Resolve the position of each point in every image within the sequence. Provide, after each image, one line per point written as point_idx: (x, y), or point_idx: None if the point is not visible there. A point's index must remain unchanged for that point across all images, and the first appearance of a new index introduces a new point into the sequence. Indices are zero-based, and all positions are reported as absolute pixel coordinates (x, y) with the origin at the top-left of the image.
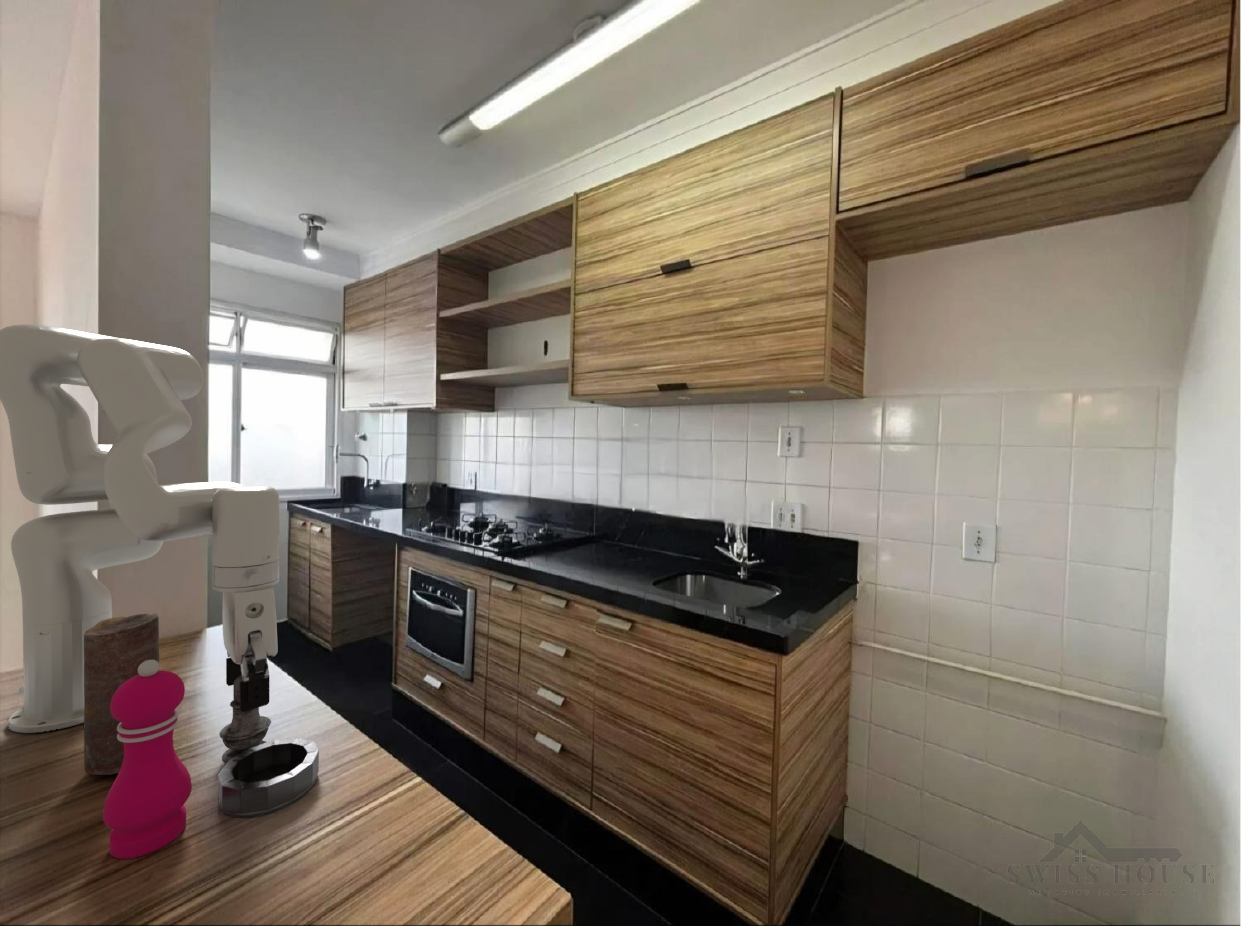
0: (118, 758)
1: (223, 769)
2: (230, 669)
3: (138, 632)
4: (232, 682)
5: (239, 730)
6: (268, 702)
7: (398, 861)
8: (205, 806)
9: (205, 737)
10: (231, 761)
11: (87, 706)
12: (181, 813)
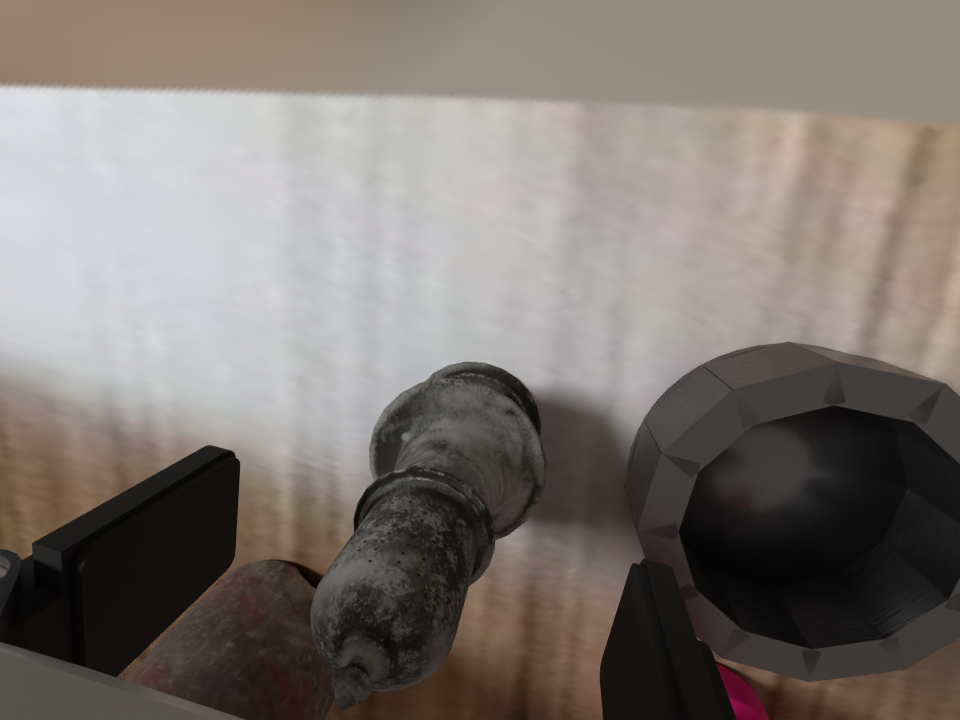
0: (325, 715)
1: (706, 638)
2: (156, 629)
3: None
4: (224, 553)
5: (495, 515)
6: (671, 570)
7: None
8: None
9: (280, 457)
10: None
11: None
12: (745, 717)
